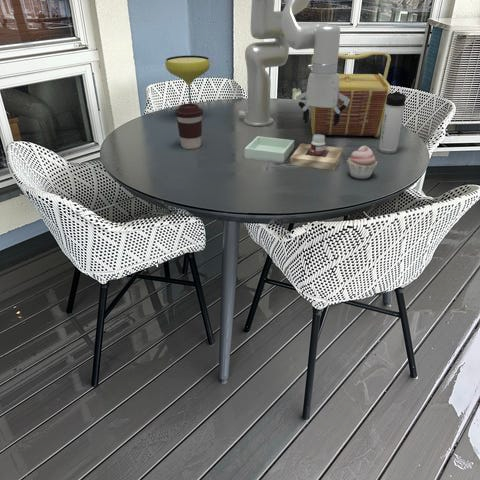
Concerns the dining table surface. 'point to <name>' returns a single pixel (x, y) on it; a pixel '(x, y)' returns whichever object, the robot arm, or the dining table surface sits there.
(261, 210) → the dining table surface
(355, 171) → the cupcake
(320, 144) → the pill bottle
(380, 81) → the picnic basket
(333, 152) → the socket block
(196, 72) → the cocktail glass
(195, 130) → the coffee cup
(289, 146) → the tray
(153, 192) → the dining table surface
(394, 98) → the travel mug
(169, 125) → the dining table surface
